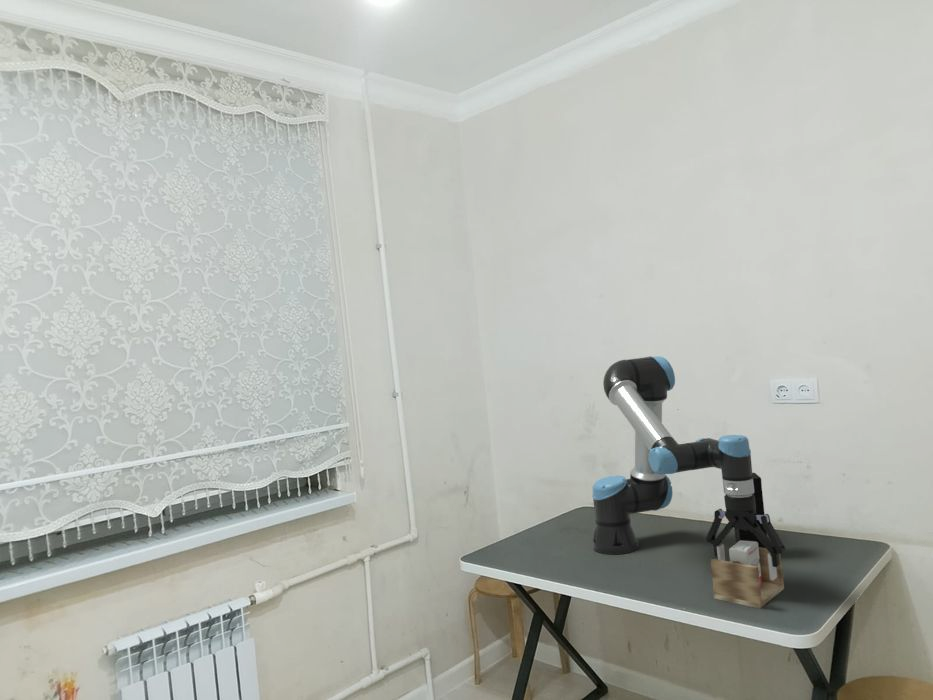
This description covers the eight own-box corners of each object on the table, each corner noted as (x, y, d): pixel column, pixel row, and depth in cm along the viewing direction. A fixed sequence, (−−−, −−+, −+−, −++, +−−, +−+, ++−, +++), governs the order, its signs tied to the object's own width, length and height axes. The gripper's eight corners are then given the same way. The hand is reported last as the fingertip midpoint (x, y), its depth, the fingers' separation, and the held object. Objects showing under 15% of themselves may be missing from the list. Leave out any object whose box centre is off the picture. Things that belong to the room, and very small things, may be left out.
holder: (714, 598, 170) (710, 560, 170) (739, 579, 181) (736, 543, 181) (760, 608, 161) (756, 568, 161) (784, 588, 172) (780, 550, 172)
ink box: (744, 581, 176) (739, 538, 176) (763, 584, 173) (758, 541, 173) (732, 592, 170) (727, 548, 170) (751, 596, 166) (747, 550, 166)
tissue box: (769, 559, 194) (760, 467, 194) (741, 560, 195) (732, 468, 195) (763, 551, 201) (753, 462, 201) (736, 552, 203) (727, 463, 203)
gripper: (688, 493, 178) (696, 569, 178) (782, 502, 159) (791, 587, 159) (701, 487, 183) (709, 561, 183) (793, 495, 164) (802, 578, 164)
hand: (747, 573), depth 171 cm, fingers open, 13 cm apart
